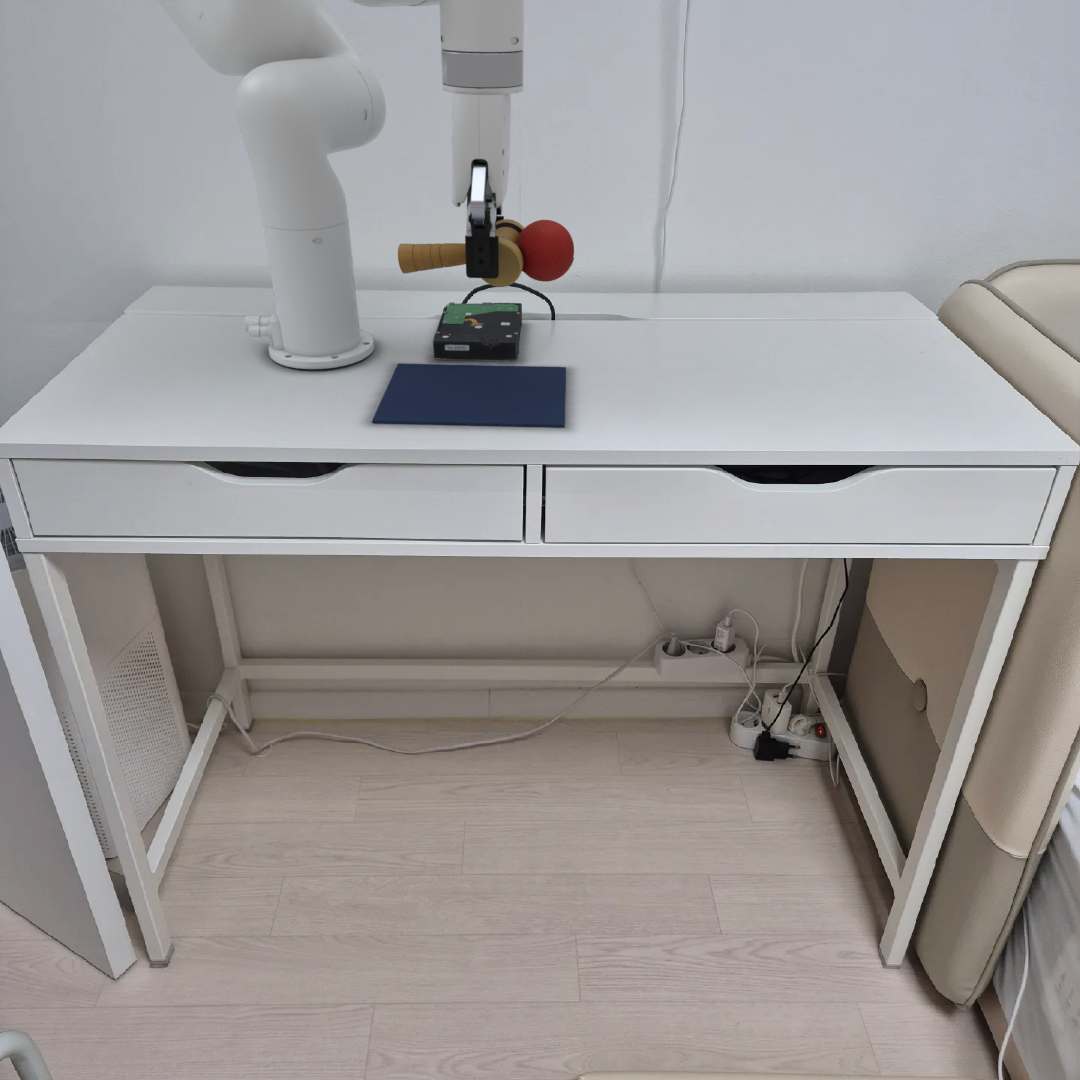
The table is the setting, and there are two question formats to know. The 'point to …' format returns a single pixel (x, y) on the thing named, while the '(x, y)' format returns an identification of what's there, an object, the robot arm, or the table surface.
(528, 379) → the napkin
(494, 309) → the disk drive
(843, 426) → the table surface
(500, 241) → the kendama
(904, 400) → the table surface
